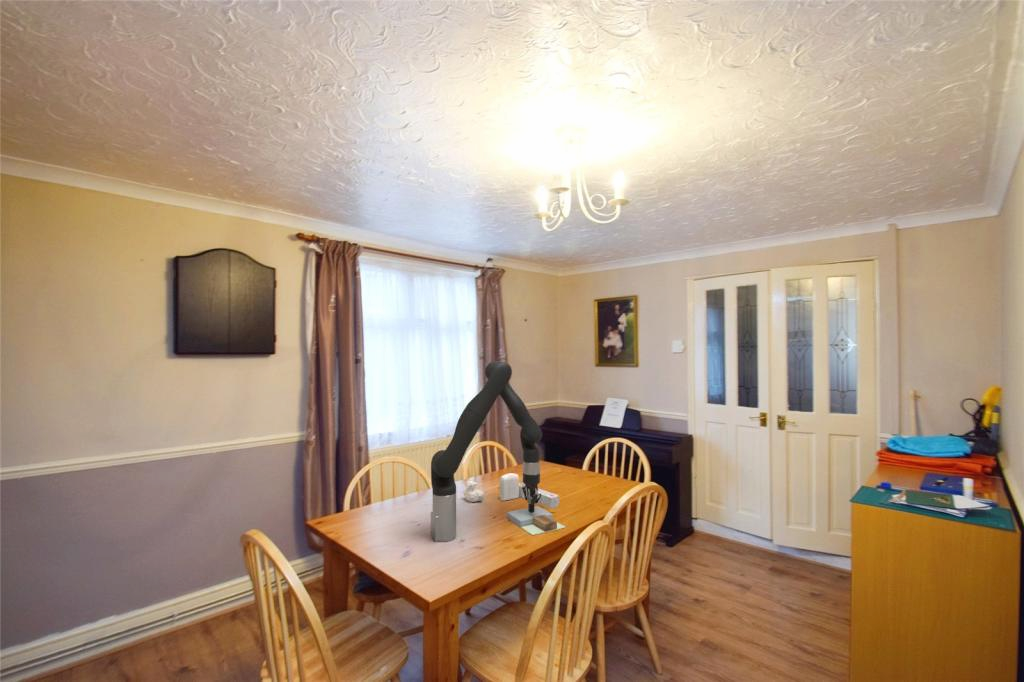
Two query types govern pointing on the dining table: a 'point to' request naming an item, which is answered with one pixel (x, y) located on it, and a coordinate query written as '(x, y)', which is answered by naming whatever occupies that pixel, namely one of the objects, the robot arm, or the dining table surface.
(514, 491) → the photo printer
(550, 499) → the box
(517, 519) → the pale blue flat slab
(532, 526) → the mat
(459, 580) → the dining table surface
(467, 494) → the bust
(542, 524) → the block
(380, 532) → the dining table surface
